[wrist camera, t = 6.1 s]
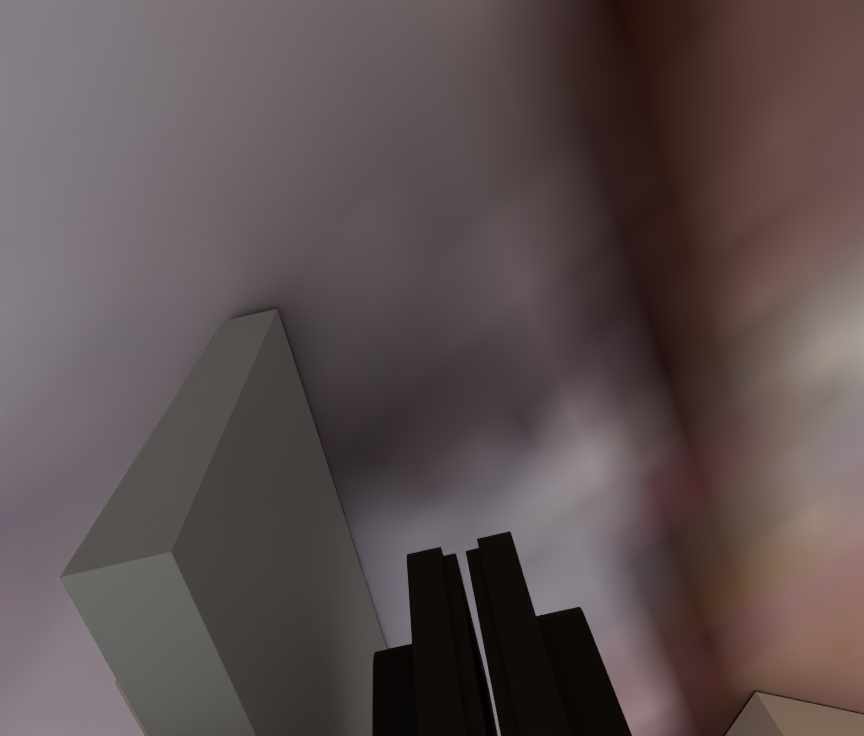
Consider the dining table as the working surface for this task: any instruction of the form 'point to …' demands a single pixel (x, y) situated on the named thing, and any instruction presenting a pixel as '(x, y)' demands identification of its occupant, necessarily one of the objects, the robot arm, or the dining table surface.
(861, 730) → the block
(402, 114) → the dining table surface
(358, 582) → the side door
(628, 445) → the dining table surface
